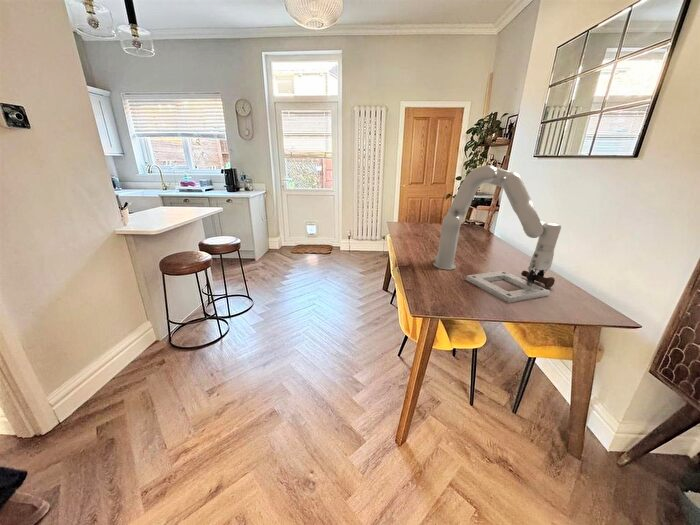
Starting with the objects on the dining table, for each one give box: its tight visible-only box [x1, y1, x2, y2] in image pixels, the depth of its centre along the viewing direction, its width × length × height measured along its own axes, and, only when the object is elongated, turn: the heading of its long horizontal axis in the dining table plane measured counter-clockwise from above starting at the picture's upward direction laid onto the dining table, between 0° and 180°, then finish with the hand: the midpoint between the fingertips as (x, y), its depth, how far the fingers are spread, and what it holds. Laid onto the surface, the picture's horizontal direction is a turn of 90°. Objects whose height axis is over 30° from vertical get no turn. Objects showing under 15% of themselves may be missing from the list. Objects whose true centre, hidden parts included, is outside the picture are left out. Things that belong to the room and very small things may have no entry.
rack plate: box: [465, 270, 551, 304], centre depth 135 cm, size 26×26×3 cm
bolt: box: [520, 270, 556, 289], centre depth 142 cm, size 6×5×15 cm
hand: (534, 280), depth 142 cm, fingers closed on bolt, 5 cm apart
